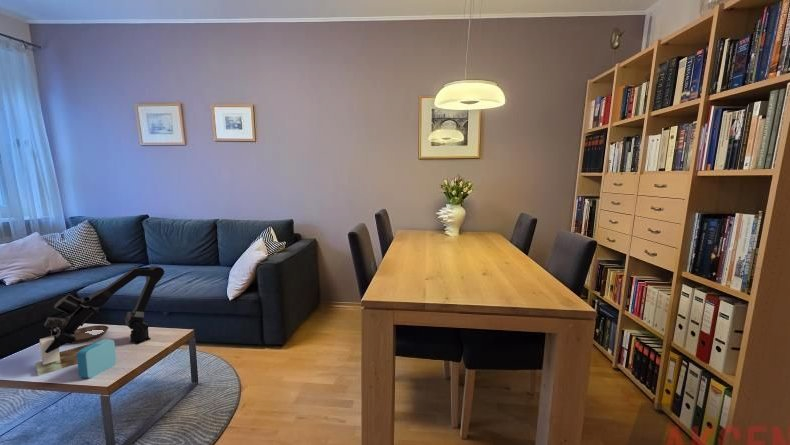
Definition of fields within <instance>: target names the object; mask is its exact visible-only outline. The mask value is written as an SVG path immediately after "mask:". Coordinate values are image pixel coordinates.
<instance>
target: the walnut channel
mask: <svg viewBox="0 0 790 445" xmlns="http://www.w3.org/2000/svg"><path fill="white" fill-rule="evenodd" d="M96 342H97V341H94V342H92V343H91V342H90V343H87V344H84V345H80V346H77V347H73V348H69V349H65V350H63V351H59V354H60V360H58V361H55V362H51V363H48V364H44V365H43V362H42V360H41V361H38V362H35V364H34V365H35V370H36V373H37V376H38V377H39V376H42V375H45V374H49V373H53V372H55V371H58V370H62V369H65V368H68V367H71V366H75V365H78V363H77V353H78V351H79V350H81V349H83V348H85V347H87V346H90V345H92V344H94V343H96Z"/></svg>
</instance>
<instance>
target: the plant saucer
mask: <svg viewBox="0 0 790 445" xmlns="http://www.w3.org/2000/svg"><path fill="white" fill-rule="evenodd" d="M108 329H109V326H107V325H101V324H99V325H98V324H97V325H90V326H84V327H79V328H78V329H77V330H76V331H75V334H74V335H75V337H76V340H75V341H74V342H73V343H72V344H80V343H86V342H90V340H91V341H94V340H96V338H97V339H99V338H101V337H102V336H104V335H105V334H106V333H107V331H108ZM92 330H103V331H104V332H102V333H100V334H97V335H92V334H89V333H85V332H87V331H92ZM93 339H94V340H93Z"/></svg>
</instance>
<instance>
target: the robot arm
mask: <svg viewBox="0 0 790 445" xmlns="http://www.w3.org/2000/svg"><path fill="white" fill-rule="evenodd" d="M164 275H165V270H164V268H162V267H161V266H158V265H151V266H143V267H136V266H135V267H132V268H131V269H130V270H129V271H127V272H125V273H124V274H123V275H122V276H120V277H119V278H117V279H115V281H113V282H112V283H110V284H109V285H107V286H105V287H103V288H101V289H98V290H97V291H95V292H93V293H91V294H89V296H86V297H81V298H79V299H78V298H76V297H74V296H73V295H72V294H66V296H63V297H62V298H61V299H59V300H58V301H57V302H56V303H54V306H53V308H54V309H57V310H58V311H61V312H63V313H65V314H71V315H69V316H66V317H65V318H62V317H50V316H48V317H47V318H46V319H45V320H46V321H45V323H43V325H44V327H45V328H51V329H50V334H51V335H50V336H54V341H53V342H52V343H51V344H50V346H49V347H48V348H47V349H46V351H45V353H49V352H51V351H53V350H55V349H57V348H59V349H60V347H62V346H64V345H67V344H70V345H73V344H74V343H73V342H74V341H75V340H76V337H75V335H74V334H75V331H76V330H77V329H80V328H81V327H83V326H84V323H85V322H86V321H87V320H88V319H89V317H91V316H92V315H93V314H96V315H100V308H101V307H104V305H105V304H106V303H107V302H109V300H111V298H112V296H113V295H115V293H117V292H118V291H120V290H121V289H122V288H123V287H125V286H126V285H128V284H129V283H130V282H132V281H134V280H135V279H136V278H137V277H145V284H144V286H143V288H142V290H141V293H140V295H139V297H138V299H137V302H136V304H135V307H134V309H133V310H132V311H127V314H126V316H125V318H124V320H125V321H124V323H125V325H126V326H127V328H129V329H131V331H130V334H129V338H130V341H129V343H132V344H135V345H138V344H141V343H144V342H146V341H149V340H151V337H149V336H150V335H149V326H150V325H149V324H147V323H146V322H145V321H144V319H145V310H146V309H147V306H148V303H149V302H150V299H151V297H152V294H153V293H154V289H155V287H156V286H157V284H158V283H159V282H160V281H161V279H162V278H163V277H164ZM55 335H56V336H55Z"/></svg>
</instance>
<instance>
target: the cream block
mask: <svg viewBox="0 0 790 445" xmlns="http://www.w3.org/2000/svg"><path fill="white" fill-rule="evenodd" d="M55 336H56V335H55ZM53 341H54V336H51V335H50V336H46V337H43V338H40V339H39V347H40V355H41V361H42V362H43V365H44V364H48V363H51V362H55V361H58V360H60V354H59V352H60V347H59V348H57V349H55V350H53V351H51V352H49V353H45V351H46V349H47V348H48V347H49V346H50V344H51V343H52V342H53Z"/></svg>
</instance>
